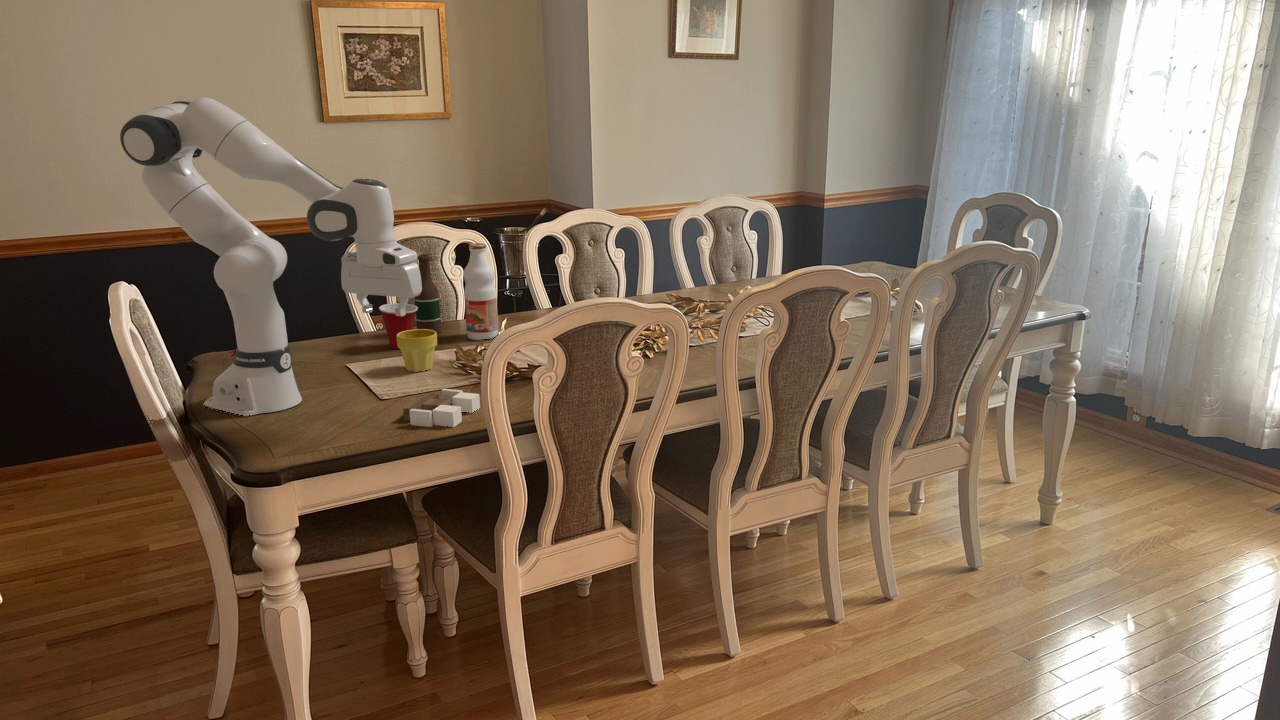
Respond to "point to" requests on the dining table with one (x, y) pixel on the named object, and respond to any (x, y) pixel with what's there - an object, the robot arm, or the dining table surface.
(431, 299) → the beer bottle
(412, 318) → the plastic cup
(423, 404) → the walnut T block
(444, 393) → the cream T dock
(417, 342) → the plant pot
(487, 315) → the fruit juice
